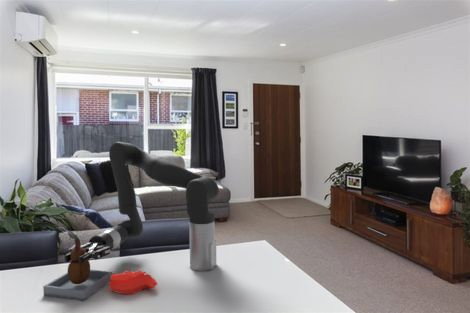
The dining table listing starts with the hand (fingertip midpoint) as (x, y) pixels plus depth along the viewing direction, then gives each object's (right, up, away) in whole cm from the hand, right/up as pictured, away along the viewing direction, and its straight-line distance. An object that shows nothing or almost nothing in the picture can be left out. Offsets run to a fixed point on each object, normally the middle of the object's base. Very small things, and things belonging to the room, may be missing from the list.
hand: (72, 259), depth 110 cm
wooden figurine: (+1, -8, +3) cm, 9 cm away
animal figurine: (+19, -11, +3) cm, 22 cm away
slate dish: (+1, -10, +3) cm, 11 cm away
